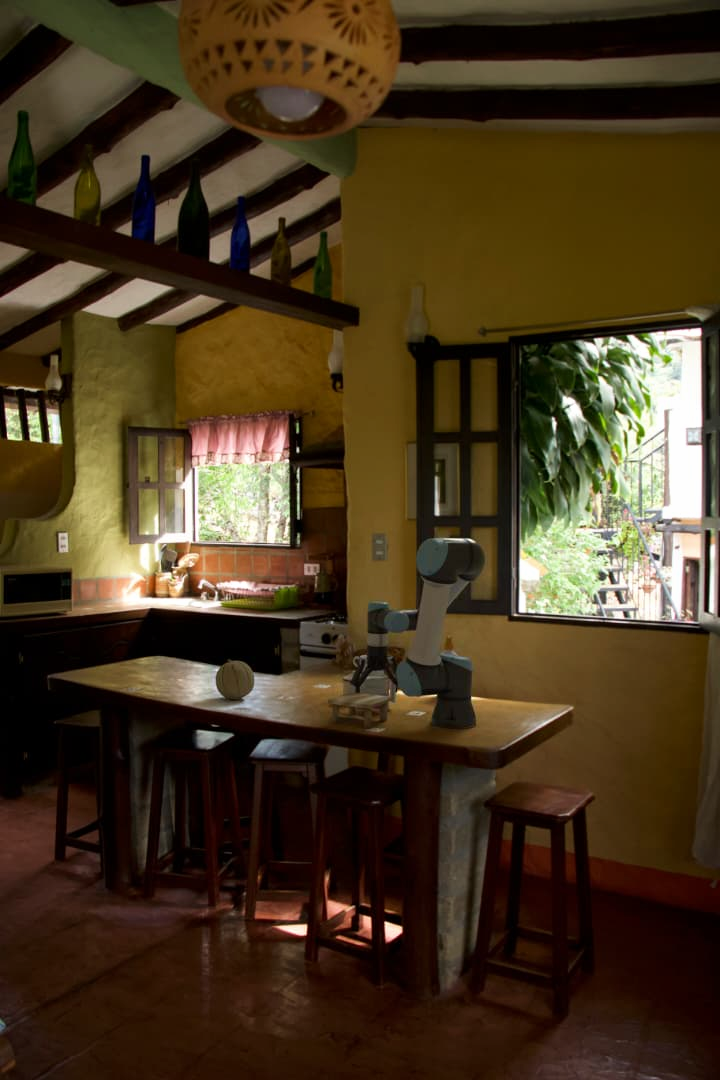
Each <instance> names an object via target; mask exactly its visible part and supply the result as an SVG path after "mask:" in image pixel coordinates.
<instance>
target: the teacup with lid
mask: <svg viewBox="0 0 720 1080" xmlns="http://www.w3.org/2000/svg"><path fill="white" fill-rule="evenodd" d="M355 671H356V670H352V671H351V673H349V674H347V675H345V676H343V677H342V681H343V682H342V684H343V685H342V695H343V694H346V693H349V692H355V686H353V685H351V684H350V682H351V680H352V678H353V675H354V673H355ZM361 675H362V674H361ZM361 675H360V676H361ZM360 687H363V691H362V693H363V694H364V682H363V684H362V685H361V686H360Z"/></svg>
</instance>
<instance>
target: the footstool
mask: <svg viewBox="0 0 720 1080" xmlns="http://www.w3.org/2000/svg"><path fill="white" fill-rule="evenodd" d="M391 700H392V697H390V696H389V697H388V696H380V695H372V694H363V693H355V692H349V693H346V694H343V693H342V694H341V695H338V696H335V697H332V698H329V699H327V704H330V705H332V715H331V719H332V720H331V723H332V724H333V725H339V724H340V718H348V719H355V720H360V721H361V720H362V721H363V728H364V729H371V728H372V712H375V713H376V714H379V721H380V722H388V711H387V702H389V703H390V701H391ZM379 705H380V709H372V708H374V707H376V706H379ZM340 706H346V707H348V713H344V712H340V709H341V708H340ZM357 711H361V712H363V711H364V712H363V715H359V714H357ZM375 713H374V714H375Z"/></svg>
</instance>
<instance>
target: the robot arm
mask: <svg viewBox="0 0 720 1080" xmlns="http://www.w3.org/2000/svg"><path fill="white" fill-rule="evenodd" d="M485 555H486V554H485V551H484V549H483V547H482V546H481V545H480V544H479V542H477V541H476V540H474V539H471V538H467V537H465V538H464V537H461V538H459V537H458V538H457V537H456V538H455V537H453V538H450V537H449V538H448V537H435V538H434V537H433V538H428V539H426V540H425V541H422V543H421V544H420V546H419V548H418V550H417V553H416V558H415V563H416V568H417V570H418V572H419V573H420V577H421V579H422V580H423V588H422V594H421V599H420V603H419V604H420V605H419V607H418V608H416V609H415V608H414V609H413V608H412V609H390V606H389V603H388V602H386V601H370V602H368V605H367V612H366V613H367V618H366V619H367V620H366V622H367V625H366V627H367V629H366V630H367V633H366V634H367V635H366V638H367V639H366V643H367V645H366V655H367V659H366V660H365V659H361V658H360V659H359V660H358V663H357V665H358V666H357V667H356V669H355V670H354V671H355V673H354V675H353V678H352V680H351V682H350V684H351V685H353V686H355V693H362V691H363V687H360V686H361V685H362V684H363V682H364V681H365V680H366V678H367V677H368V675H369V674H370V673H371V672H372V671H378V670H379V671H382V670H383V671H384V674H385V675H386V677H389V678H390V681H391V683H389V697H392V700H391V701H389V703H394V704H395V703H396V695H397V693H398V688H399V689H400V691H401V692H402V693H403V694H404V695H405V696H407V697H410V698H411V697H412V698H413V697H414V698H415V697H416V698H419V697H427V696H435V695H436V701H435V705H434V707H433V709H432V714H431V721H430V722H431V724H432V725H434V726H436V727H440V728H447V729H466V728H465V727H469V728H471V727H470V726H473V725H475V724H476V725H477V717H476V713H475V709H474V706H473V703H472V691H473V690H472V685H473V683H472V681H473V679H472V678H473V663H472V660H471V659H470V658H469V657H465V656H461V655H458V656H456V655H448V654H441V653H439V650H440V645H441V640H442V635H443V630H444V629H443V628H444V625H445V624H444V623H445V619H446V613H447V609H448V607H449V606H450V605H451V604H452V603H453V601H454V600H455V599H457V597H458V596H459V594H460V593H461V592H462V591H463V590H464V589H465V587H466V586H467V585H468V584H469V583H472V582H475V580H477V579H478V578H479V576H480V575H481V573H482V572H483V570H484V569H485V565H486V556H485ZM412 631H413V632H414V631H415V633H414V639H413V644H412V649H411V650H409V651H407V653H406V656H405V660H404V661H403V660H402V661H400V662H399V663H398V664H397V663H396V657H393V656H389V657H388V653H389V650H388V649H389V647H388V644H389V632H390V633H393V634H401V633H402V634H403V633H404V632H412ZM387 657H388V658H387ZM366 663H367V667H366V668H365V670H364V672H363V668H364V665H366ZM388 663H389V667H390V668H391V670H390V669H389V667H388V666H387V664H388ZM360 675H361V676H360ZM476 725H475V726H476ZM473 727H474V726H473Z"/></svg>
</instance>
